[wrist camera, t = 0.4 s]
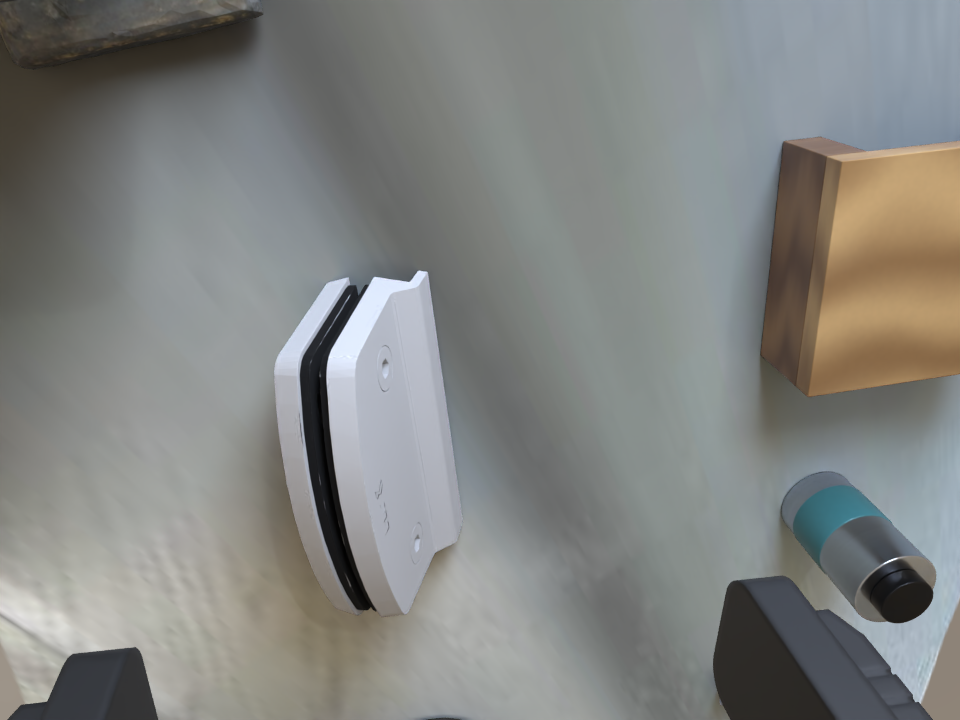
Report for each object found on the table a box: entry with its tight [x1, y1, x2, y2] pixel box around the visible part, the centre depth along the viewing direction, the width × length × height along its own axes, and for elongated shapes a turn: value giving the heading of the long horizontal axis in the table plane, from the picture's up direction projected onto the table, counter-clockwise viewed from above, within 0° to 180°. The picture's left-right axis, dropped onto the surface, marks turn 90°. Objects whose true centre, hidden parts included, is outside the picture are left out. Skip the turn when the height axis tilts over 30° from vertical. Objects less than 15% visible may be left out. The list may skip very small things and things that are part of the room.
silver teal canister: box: [781, 472, 936, 623], centre depth 44 cm, size 5×5×9 cm
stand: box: [761, 137, 960, 397], centre depth 38 cm, size 12×12×5 cm
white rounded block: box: [274, 271, 463, 617], centre depth 37 cm, size 17×5×10 cm, turn 5°
